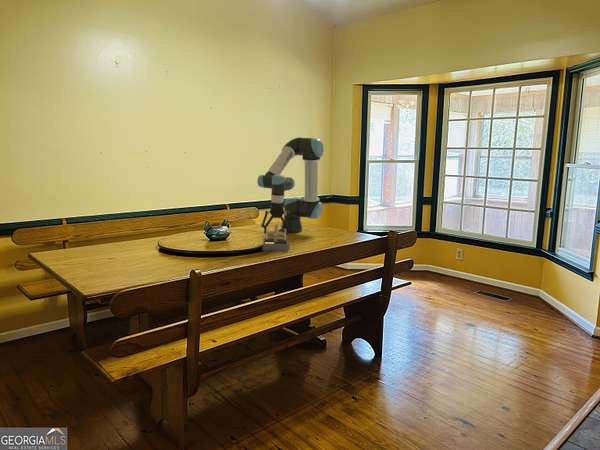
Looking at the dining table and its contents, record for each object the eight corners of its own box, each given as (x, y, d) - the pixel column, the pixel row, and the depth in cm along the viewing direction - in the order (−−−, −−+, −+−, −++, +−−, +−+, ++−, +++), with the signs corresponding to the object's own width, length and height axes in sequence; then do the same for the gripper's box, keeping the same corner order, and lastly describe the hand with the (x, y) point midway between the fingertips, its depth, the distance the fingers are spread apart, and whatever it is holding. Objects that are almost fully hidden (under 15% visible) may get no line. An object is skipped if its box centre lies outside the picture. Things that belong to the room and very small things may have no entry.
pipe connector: (285, 240, 267) (285, 223, 265) (282, 244, 257) (283, 227, 255) (268, 238, 268) (269, 222, 266) (265, 242, 258) (266, 225, 256)
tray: (262, 244, 270) (262, 237, 269) (287, 245, 271) (287, 238, 271) (262, 250, 255) (262, 244, 255) (288, 251, 257) (288, 244, 256)
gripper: (257, 202, 253) (256, 240, 258) (297, 204, 255) (295, 241, 260) (257, 200, 260) (256, 237, 265) (296, 201, 263) (294, 238, 267)
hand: (275, 239), depth 262 cm, fingers closed on pipe connector, 10 cm apart
